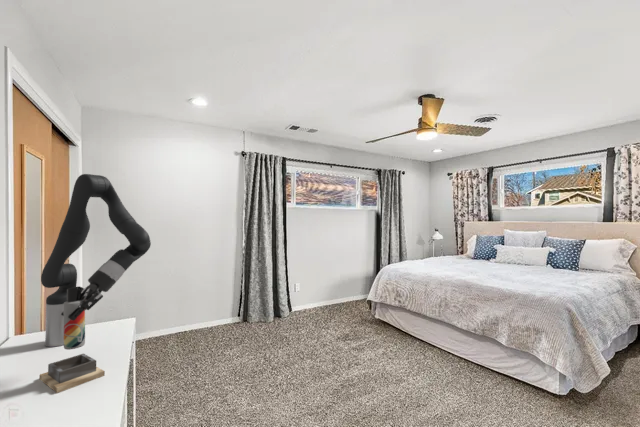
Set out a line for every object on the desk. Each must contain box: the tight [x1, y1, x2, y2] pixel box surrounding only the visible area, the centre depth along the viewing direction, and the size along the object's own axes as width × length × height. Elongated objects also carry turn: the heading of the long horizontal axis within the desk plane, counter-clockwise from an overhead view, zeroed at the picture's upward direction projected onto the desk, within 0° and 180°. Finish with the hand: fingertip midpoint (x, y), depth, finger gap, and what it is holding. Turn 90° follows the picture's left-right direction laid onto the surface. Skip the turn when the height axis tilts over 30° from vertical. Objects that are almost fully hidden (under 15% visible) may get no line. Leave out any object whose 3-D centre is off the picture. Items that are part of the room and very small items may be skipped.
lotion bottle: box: [63, 286, 86, 350], centre depth 107 cm, size 6×6×20 cm
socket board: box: [38, 353, 105, 394], centre depth 107 cm, size 15×13×5 cm
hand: (67, 317), depth 105 cm, fingers closed on lotion bottle, 5 cm apart
